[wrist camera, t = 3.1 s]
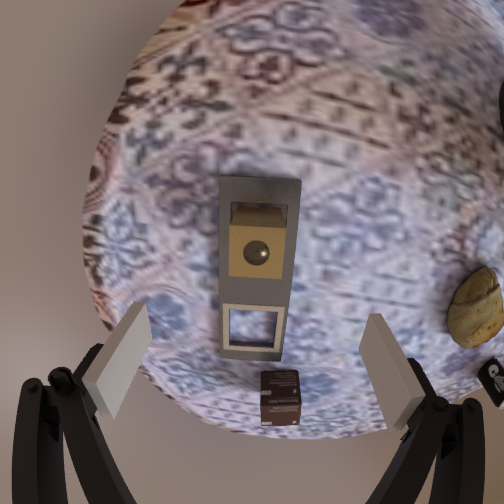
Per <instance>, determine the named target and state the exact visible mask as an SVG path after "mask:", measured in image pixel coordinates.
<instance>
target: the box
mask: <svg viewBox="0 0 504 504" xmlns="http://www.w3.org/2000/svg"><path fill="white" fill-rule="evenodd" d="M301 405H302V401H301V392H300V382H299V373H298V371H297V370H289V371H263V372H261V397H260V411H261V425H262V426H286V425H299V423H300V415H301Z"/></svg>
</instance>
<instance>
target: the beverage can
mask: <svg viewBox="0 0 504 504" xmlns="http://www.w3.org/2000/svg"><path fill="white" fill-rule="evenodd" d="M478 379H479V380H480V382H481V384H482V385H483V387H484V388H485V390H486V391H487V393H488V394H489V396H490V398H491V399H492V401H493V403H494V404H495V406H496V407H499V409H500V410H501V409H503V408H504V367H503V366H502V365H501V363H500V362H499V361H498V359H491V360H489V361H488V362H486V363H485V364H484V365H483V367H482V368H481V369H480V371H479V376H478Z"/></svg>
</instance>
